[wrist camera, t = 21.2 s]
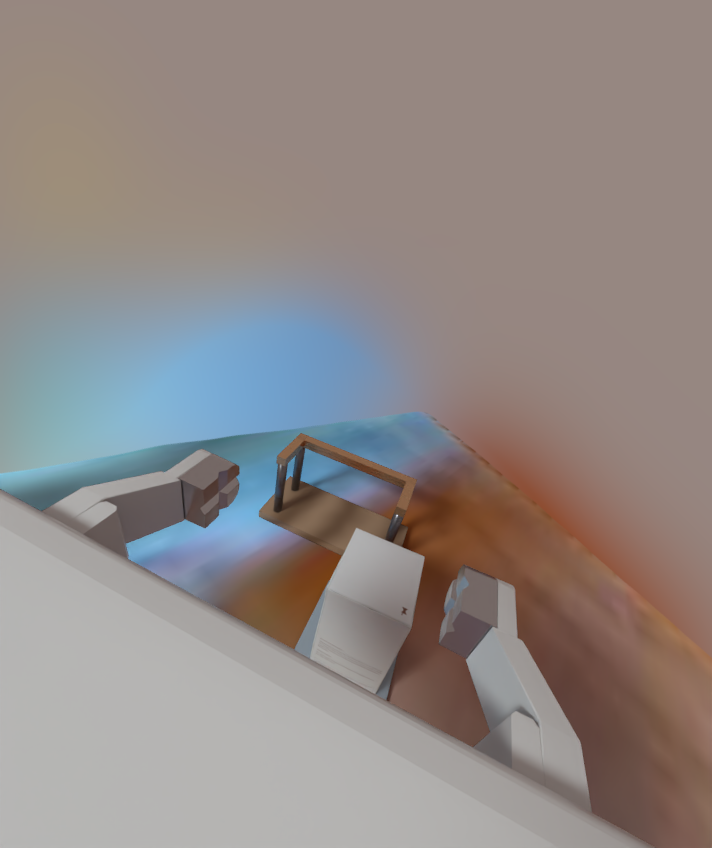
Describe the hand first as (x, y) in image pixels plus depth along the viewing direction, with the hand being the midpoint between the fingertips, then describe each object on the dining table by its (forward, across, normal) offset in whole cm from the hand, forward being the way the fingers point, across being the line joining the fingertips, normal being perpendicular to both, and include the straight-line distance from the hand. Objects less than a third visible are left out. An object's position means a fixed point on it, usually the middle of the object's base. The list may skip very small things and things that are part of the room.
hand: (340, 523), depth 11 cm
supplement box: (+12, -2, +30) cm, 32 cm away
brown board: (+26, +6, +30) cm, 40 cm away
